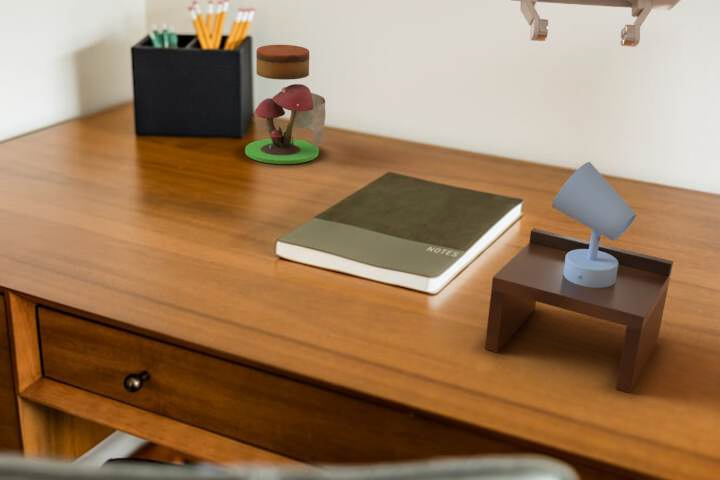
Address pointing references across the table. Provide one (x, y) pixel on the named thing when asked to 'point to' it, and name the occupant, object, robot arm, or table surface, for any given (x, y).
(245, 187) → the table surface
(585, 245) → the shelf
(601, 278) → the spotlight
